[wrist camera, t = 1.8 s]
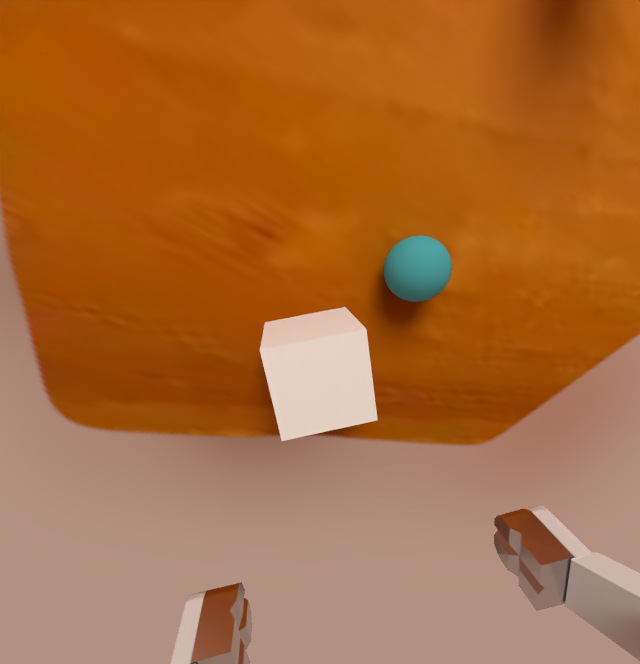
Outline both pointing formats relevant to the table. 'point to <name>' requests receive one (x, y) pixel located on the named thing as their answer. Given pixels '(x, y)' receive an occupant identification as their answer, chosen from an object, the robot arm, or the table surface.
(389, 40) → the table surface
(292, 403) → the white rectangular prism
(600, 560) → the robot arm
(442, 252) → the ball
